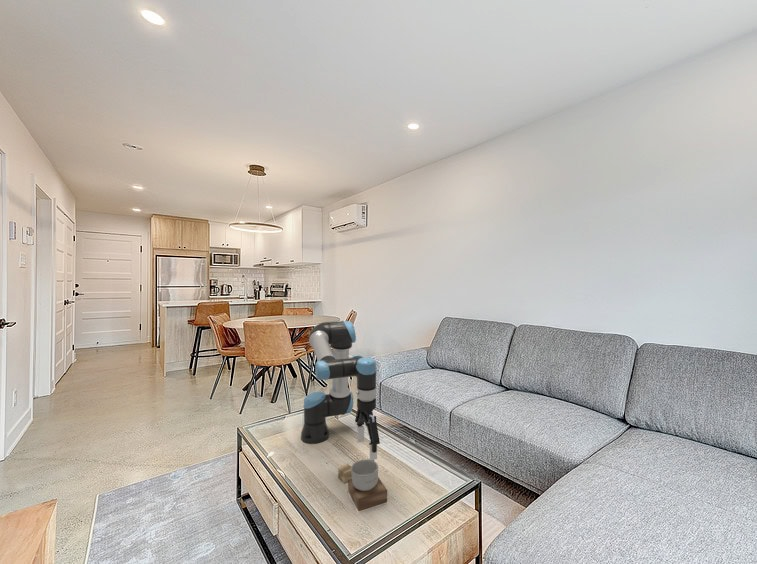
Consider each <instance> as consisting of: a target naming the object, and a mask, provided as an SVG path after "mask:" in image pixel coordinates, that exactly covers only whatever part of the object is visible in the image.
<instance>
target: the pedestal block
mask: <svg viewBox="0 0 757 564" xmlns="http://www.w3.org/2000/svg"><path fill="white" fill-rule="evenodd" d="M347 487H348V488H347V490H348V492H349V494H350V496H351V498H352V500H353V502H354V504H355V506H356V508H357V510H358V512H359V511H362V510H365V509H368V508H371V507H374V506H377V505H380V504H383V503H386V502H387V500H388V489H387V488H386V486H385V485H384V483H383V482H382V480H381V479H380V477H379V476H378V482H377V484H376V485H375V487H373V488H372V489H371V490H369V491H360V490H359V489H357V488H355V486H354V485H353V482H352V479H350V480H348V483H347ZM371 509H372V508H371ZM368 510H369V509H368ZM365 511H366V510H365ZM362 512H363V511H362ZM359 513H360V512H359Z"/></svg>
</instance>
